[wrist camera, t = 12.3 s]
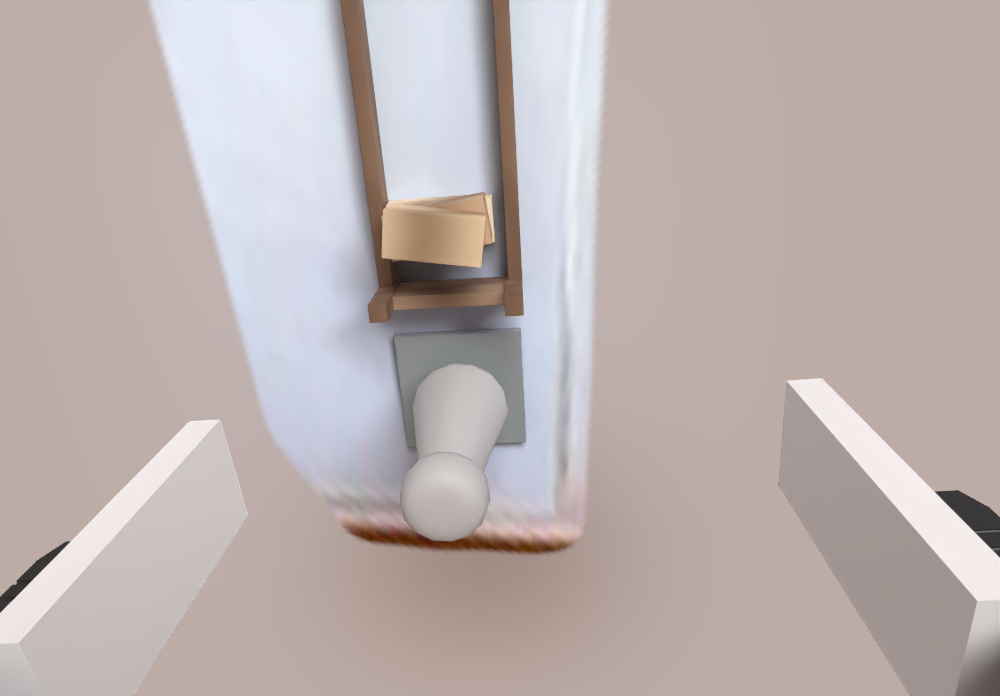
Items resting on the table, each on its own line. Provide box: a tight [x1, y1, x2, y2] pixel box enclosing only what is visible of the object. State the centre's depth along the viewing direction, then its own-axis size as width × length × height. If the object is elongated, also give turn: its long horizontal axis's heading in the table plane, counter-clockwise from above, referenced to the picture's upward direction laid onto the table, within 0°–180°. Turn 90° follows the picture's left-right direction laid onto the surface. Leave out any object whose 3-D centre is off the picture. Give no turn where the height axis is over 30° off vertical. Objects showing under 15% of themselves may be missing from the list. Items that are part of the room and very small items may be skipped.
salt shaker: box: [400, 362, 508, 541], centre depth 36 cm, size 6×6×13 cm
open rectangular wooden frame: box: [341, 0, 524, 323], centre depth 33 cm, size 8×25×5 cm, turn 3°
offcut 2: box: [381, 192, 493, 262], centre depth 36 cm, size 6×2×2 cm, turn 101°
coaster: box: [394, 328, 526, 447], centre depth 43 cm, size 8×8×1 cm
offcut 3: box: [382, 203, 487, 268], centre depth 34 cm, size 5×2×2 cm, turn 84°
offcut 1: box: [386, 194, 495, 242], centre depth 38 cm, size 6×2×2 cm, turn 94°
